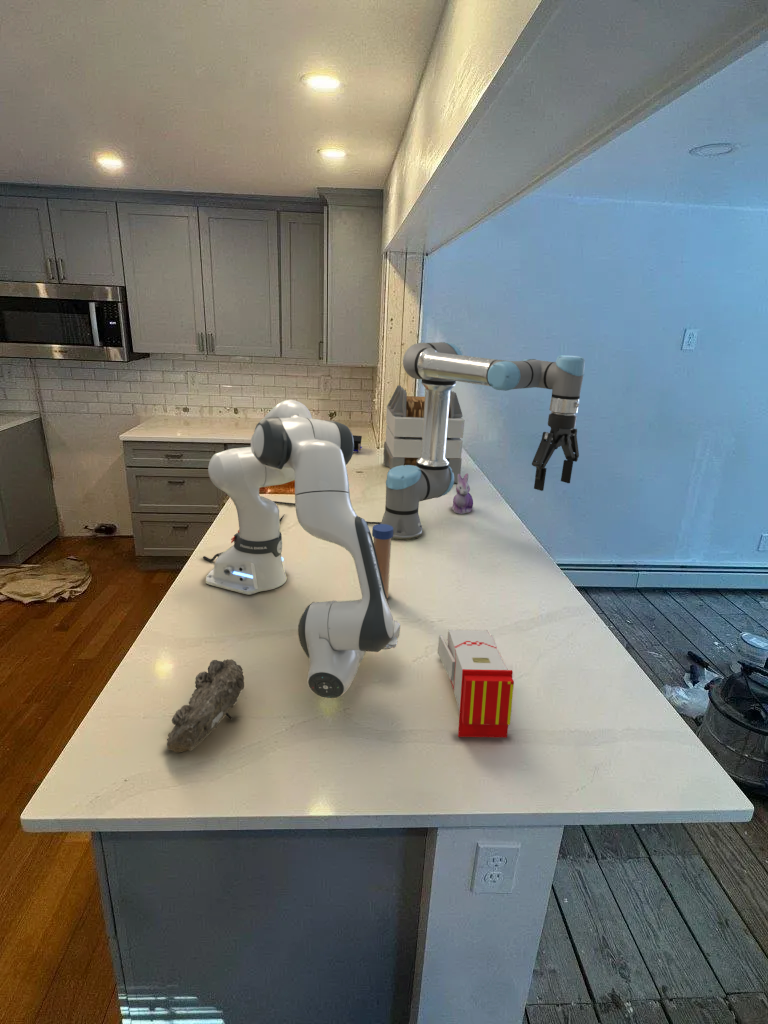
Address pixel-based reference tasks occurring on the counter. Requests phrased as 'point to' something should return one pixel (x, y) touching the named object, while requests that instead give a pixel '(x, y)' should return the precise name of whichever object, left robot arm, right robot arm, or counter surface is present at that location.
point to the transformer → (418, 431)
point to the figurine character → (357, 443)
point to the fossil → (206, 705)
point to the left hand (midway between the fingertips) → (362, 611)
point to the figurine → (462, 496)
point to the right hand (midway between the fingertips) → (552, 485)
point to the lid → (382, 531)
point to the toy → (478, 682)
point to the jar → (383, 560)
